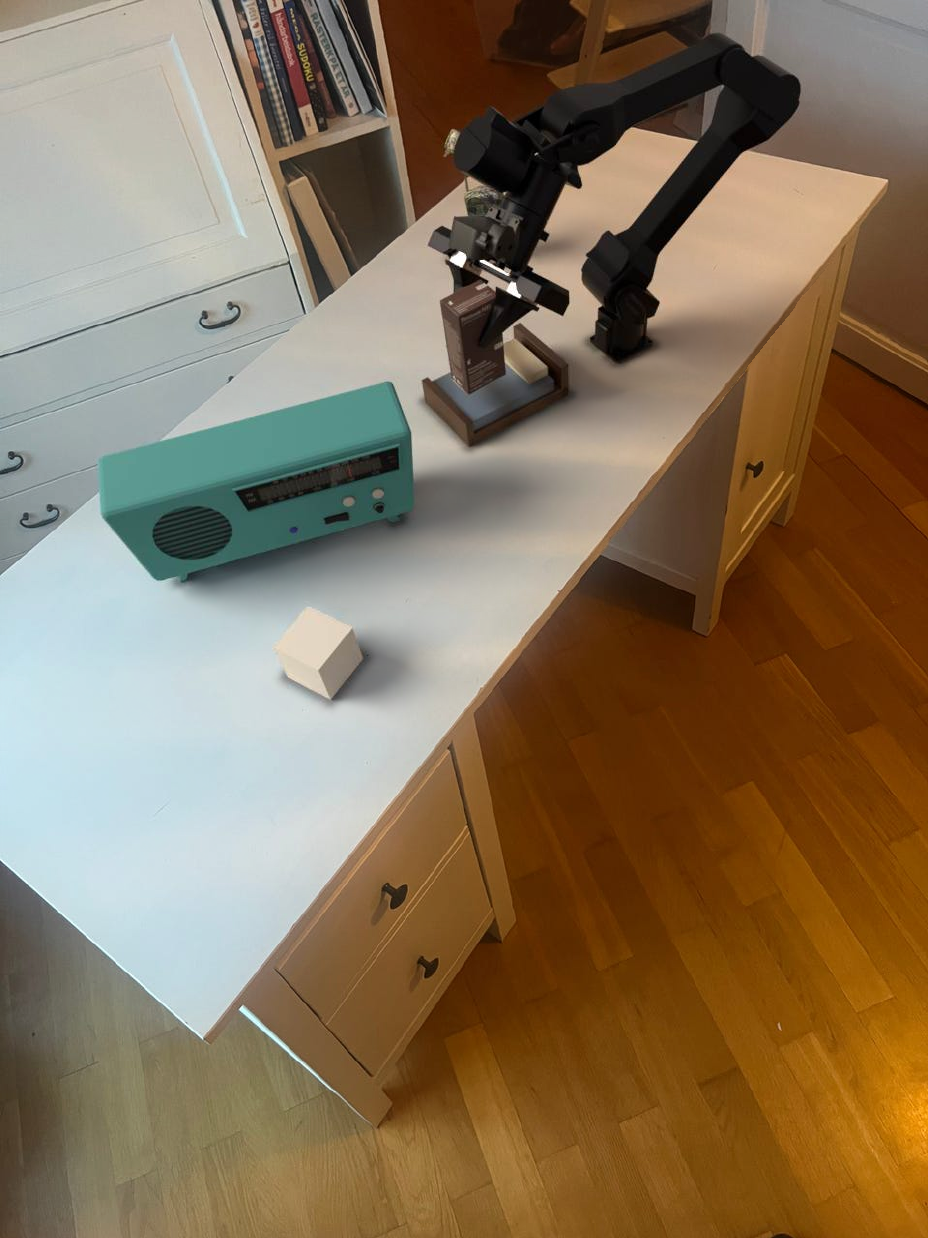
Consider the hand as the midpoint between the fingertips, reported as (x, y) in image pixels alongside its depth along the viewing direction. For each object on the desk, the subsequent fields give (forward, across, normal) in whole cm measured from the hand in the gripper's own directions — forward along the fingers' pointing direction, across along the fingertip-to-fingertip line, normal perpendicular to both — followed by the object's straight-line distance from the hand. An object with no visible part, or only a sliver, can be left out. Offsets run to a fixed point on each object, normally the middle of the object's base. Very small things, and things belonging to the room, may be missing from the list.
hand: (466, 338), depth 106 cm
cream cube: (+36, +16, -18) cm, 43 cm away
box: (+4, 0, +6) cm, 7 cm away
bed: (+6, -1, +13) cm, 14 cm away
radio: (+30, -3, -12) cm, 32 cm away
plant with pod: (-9, -26, +29) cm, 40 cm away
